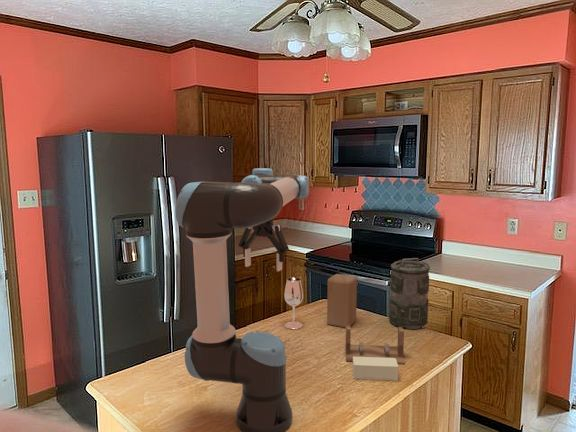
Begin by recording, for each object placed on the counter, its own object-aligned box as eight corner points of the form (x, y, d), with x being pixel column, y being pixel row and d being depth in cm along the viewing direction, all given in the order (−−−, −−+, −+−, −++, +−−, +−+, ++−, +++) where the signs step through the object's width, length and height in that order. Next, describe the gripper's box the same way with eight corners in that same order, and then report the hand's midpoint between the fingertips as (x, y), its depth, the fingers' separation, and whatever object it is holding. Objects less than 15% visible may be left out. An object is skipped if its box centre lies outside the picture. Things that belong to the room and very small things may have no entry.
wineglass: (282, 328, 185) (281, 281, 183) (287, 321, 193) (287, 276, 190) (300, 330, 183) (300, 282, 180) (305, 323, 191) (305, 277, 188)
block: (326, 324, 189) (326, 278, 186) (335, 317, 198) (335, 272, 195) (348, 329, 184) (349, 282, 181) (356, 321, 193) (357, 275, 190)
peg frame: (405, 364, 154) (406, 336, 152) (346, 361, 156) (346, 334, 154) (399, 347, 167) (400, 322, 165) (345, 345, 169) (345, 320, 167)
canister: (400, 331, 181) (403, 264, 177) (382, 317, 197) (384, 255, 192) (435, 327, 186) (438, 261, 182) (414, 314, 201) (416, 253, 197)
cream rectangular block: (397, 381, 143) (398, 366, 142) (353, 379, 144) (353, 365, 144) (395, 372, 149) (395, 358, 148) (352, 370, 150) (352, 356, 149)
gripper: (298, 212, 160) (298, 270, 163) (240, 208, 172) (241, 262, 175) (288, 214, 154) (288, 274, 157) (228, 210, 166) (229, 266, 169)
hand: (263, 268), depth 166 cm, fingers open, 13 cm apart
